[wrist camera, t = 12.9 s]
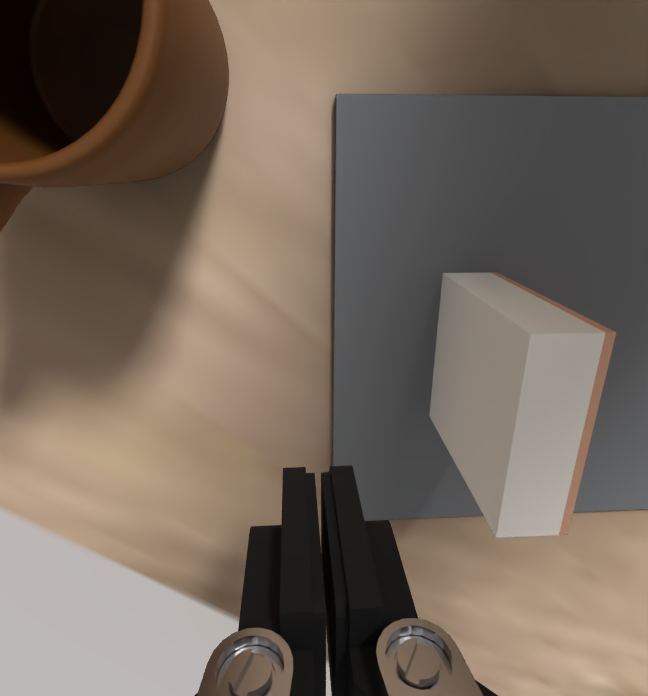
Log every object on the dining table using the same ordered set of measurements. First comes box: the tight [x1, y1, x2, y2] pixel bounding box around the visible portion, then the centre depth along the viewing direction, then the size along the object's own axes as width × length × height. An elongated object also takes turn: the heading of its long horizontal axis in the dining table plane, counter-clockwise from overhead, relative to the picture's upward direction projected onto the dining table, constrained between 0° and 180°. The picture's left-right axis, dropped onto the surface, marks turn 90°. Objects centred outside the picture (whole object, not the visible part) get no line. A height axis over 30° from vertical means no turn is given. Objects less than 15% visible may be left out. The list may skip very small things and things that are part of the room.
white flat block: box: [429, 272, 616, 538], centre depth 18 cm, size 7×2×8 cm, turn 0°
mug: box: [0, 0, 229, 232], centre depth 13 cm, size 12×8×9 cm, turn 142°
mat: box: [333, 94, 648, 521], centre depth 22 cm, size 20×20×1 cm
